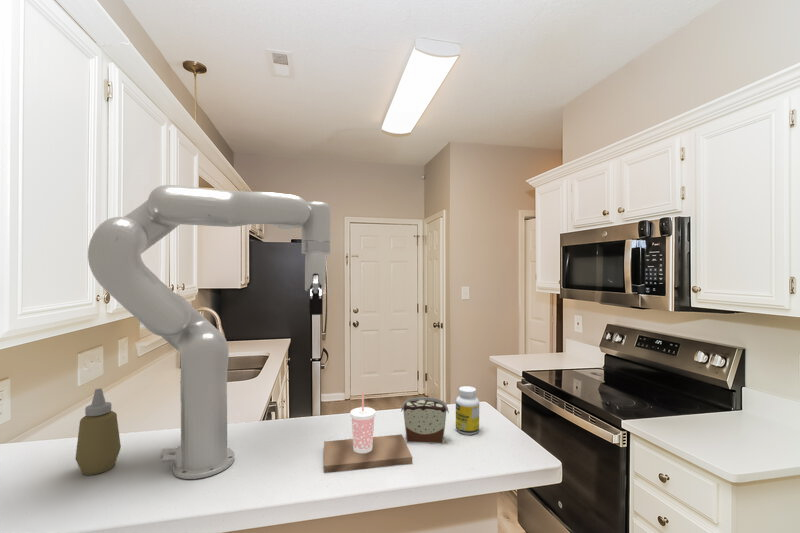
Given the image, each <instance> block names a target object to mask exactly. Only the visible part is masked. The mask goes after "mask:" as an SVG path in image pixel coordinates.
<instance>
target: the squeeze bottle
mask: <svg viewBox="0 0 800 533" xmlns="http://www.w3.org/2000/svg"><path fill="white" fill-rule="evenodd" d="M92 397H93V398H92V402H91V404H89V405H88V406H85V408H84V412H85V415H84V416H83V417H82V418H81V419H80V420H79V427H78V434H77V435H78V436H77V443H76V449H75V450H76V451H75V458H74V459H75V462H76V464H77V466H78V468H79V469H80V472H81V473H82V474H83V475H86V476H92V475H97V474H101V473H103V472H107V471H109V470H111V469H112V468H114V466H115V465H116V462H117V461H118V460H117V459H118V458H119V454H120V451H121V446H122V445H121V439H120V432H119V430H120V429H119V424H118V423H119V422H118V417H117V416H118V415H117V412H115V411H113V410H112V402H110V401H106V399H105V395H104V392H103V389H102V388H101V387H100V388H95V389H94V392H93V396H92Z"/></svg>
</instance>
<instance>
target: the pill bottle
mask: <svg viewBox="0 0 800 533" xmlns="http://www.w3.org/2000/svg"><path fill="white" fill-rule="evenodd" d="M458 389H459V390H458V391H459V392H458V394H459V396H457V397H456V398H455V429H456V431H457V432H458V433H459V434H463V435H465V436H466V435H468V436H469V435H470V436H472V435H475V434H478V432H479V431H480V400H479V398H478V397H476V395H477V389H476V388H475V387H474V386H468V385H467V386H466V385H465V386H464V385H463V386H460V387H459V388H458Z"/></svg>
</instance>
